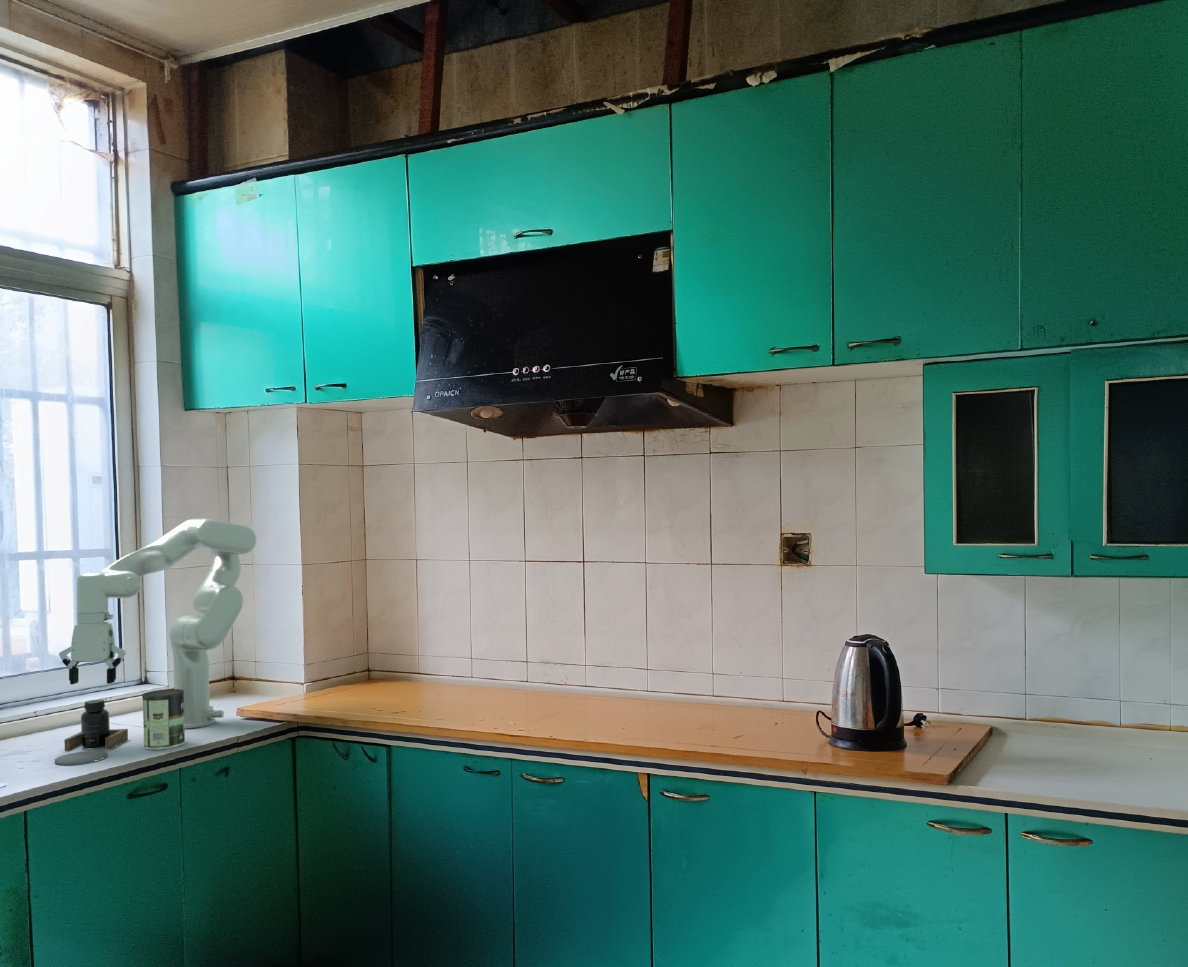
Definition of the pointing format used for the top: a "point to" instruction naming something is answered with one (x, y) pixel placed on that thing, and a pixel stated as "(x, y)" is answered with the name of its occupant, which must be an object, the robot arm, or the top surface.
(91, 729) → the supplement bottle
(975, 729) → the top surface
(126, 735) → the bottle holder
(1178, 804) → the top surface
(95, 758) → the rubber mat
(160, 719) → the coffee can
